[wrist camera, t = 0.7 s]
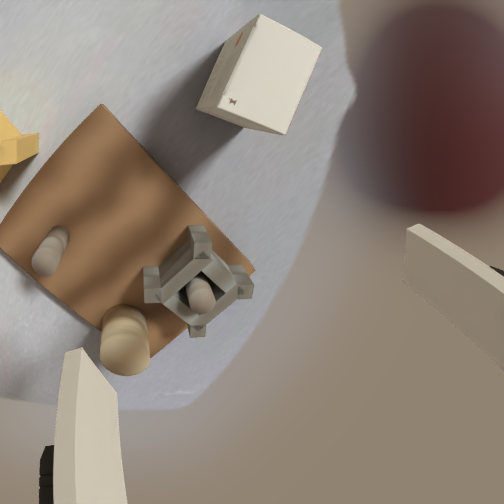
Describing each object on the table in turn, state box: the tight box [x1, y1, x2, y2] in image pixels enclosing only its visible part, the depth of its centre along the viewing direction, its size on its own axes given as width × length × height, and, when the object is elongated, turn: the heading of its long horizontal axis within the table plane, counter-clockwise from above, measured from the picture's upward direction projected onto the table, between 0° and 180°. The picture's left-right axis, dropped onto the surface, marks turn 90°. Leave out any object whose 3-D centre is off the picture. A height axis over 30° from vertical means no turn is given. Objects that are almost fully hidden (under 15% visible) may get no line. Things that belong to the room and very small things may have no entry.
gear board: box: [0, 104, 255, 376], centre depth 29 cm, size 24×18×8 cm
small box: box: [196, 14, 322, 135], centre depth 24 cm, size 8×6×10 cm
